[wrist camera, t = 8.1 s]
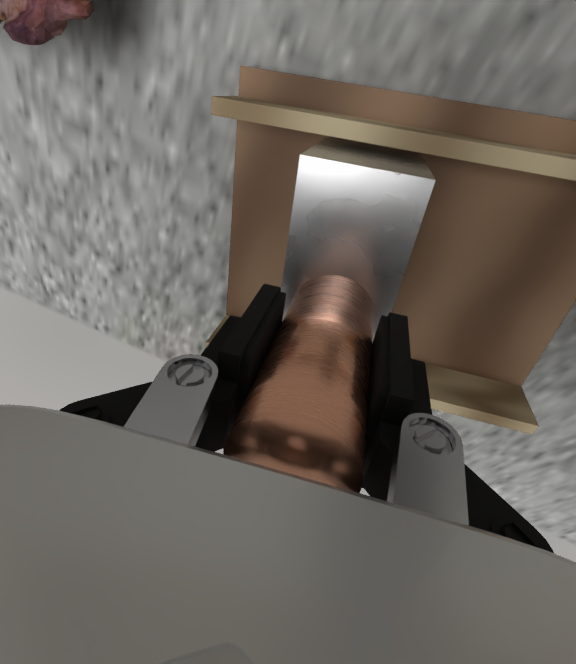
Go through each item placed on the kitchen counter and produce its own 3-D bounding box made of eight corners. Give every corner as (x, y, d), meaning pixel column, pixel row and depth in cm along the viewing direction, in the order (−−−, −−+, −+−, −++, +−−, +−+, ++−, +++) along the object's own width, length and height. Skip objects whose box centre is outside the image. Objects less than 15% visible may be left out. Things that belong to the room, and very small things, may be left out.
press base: (655, 134, 15) (742, 146, 11) (500, 391, 23) (522, 449, 19) (251, 68, 17) (212, 59, 13) (233, 326, 25) (205, 366, 21)
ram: (421, 153, 16) (488, 277, 5) (362, 346, 21) (334, 602, 11) (327, 136, 16) (205, 216, 5) (293, 329, 22) (199, 558, 11)
